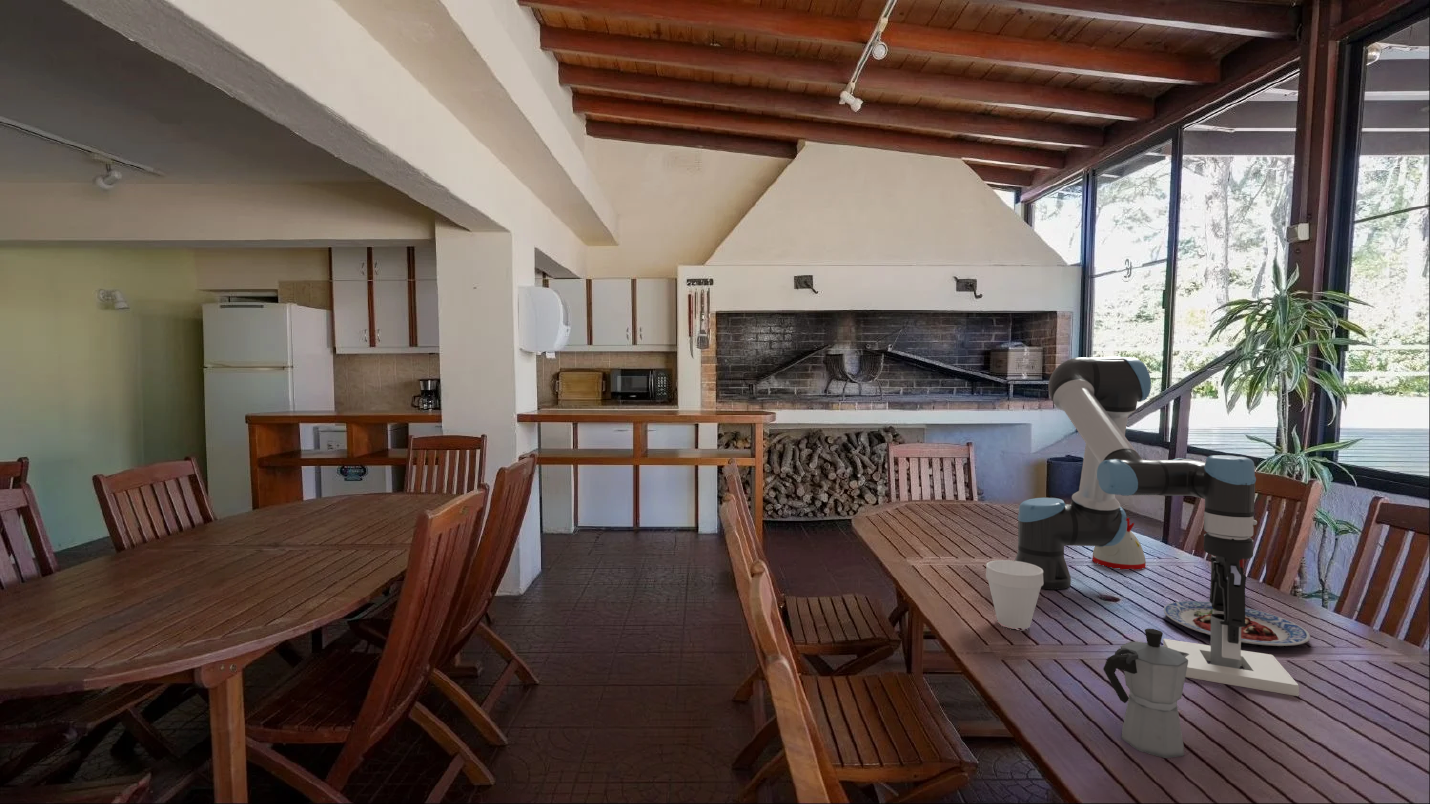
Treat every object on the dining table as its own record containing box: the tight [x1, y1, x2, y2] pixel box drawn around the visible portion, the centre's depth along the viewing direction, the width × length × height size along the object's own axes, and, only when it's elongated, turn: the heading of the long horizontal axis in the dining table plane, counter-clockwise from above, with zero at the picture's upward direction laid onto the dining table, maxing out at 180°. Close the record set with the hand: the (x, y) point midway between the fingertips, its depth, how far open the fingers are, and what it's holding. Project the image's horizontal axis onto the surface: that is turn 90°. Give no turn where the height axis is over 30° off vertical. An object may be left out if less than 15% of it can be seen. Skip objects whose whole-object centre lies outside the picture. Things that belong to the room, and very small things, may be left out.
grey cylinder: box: [1210, 614, 1241, 669], centre depth 123 cm, size 4×4×10 cm
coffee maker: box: [1102, 628, 1189, 759], centre depth 99 cm, size 15×9×18 cm, turn 99°
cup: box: [985, 559, 1044, 629], centre depth 146 cm, size 12×12×14 cm
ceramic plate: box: [1163, 600, 1311, 647], centre depth 143 cm, size 26×26×3 cm
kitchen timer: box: [1092, 517, 1147, 570], centre depth 194 cm, size 14×14×15 cm
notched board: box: [1162, 638, 1300, 697], centre depth 123 cm, size 18×14×2 cm
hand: (1225, 650), depth 123 cm, fingers open, 7 cm apart
